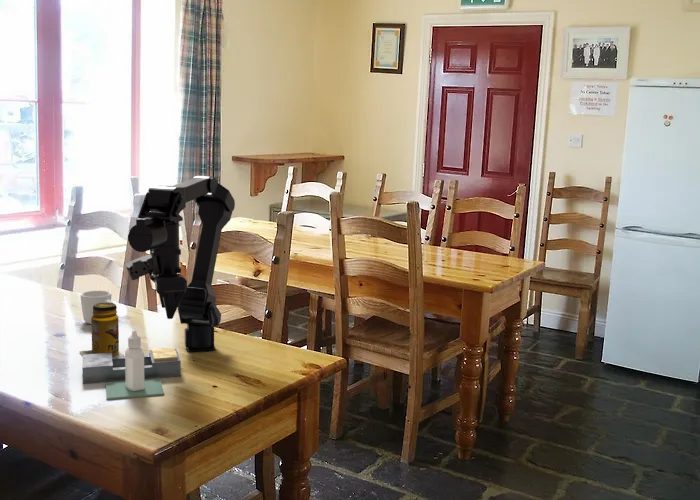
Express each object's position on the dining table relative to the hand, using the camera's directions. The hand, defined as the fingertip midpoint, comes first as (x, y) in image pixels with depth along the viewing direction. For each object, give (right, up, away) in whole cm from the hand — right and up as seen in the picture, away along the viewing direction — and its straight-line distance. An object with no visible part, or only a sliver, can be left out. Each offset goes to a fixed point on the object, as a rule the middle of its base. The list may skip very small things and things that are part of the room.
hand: (167, 313), depth 161 cm
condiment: (-18, -11, +10) cm, 23 cm away
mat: (-4, -15, -12) cm, 19 cm away
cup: (-27, -6, +36) cm, 45 cm away
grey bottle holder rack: (-7, -13, -2) cm, 15 cm away
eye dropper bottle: (-4, -14, -12) cm, 19 cm away
